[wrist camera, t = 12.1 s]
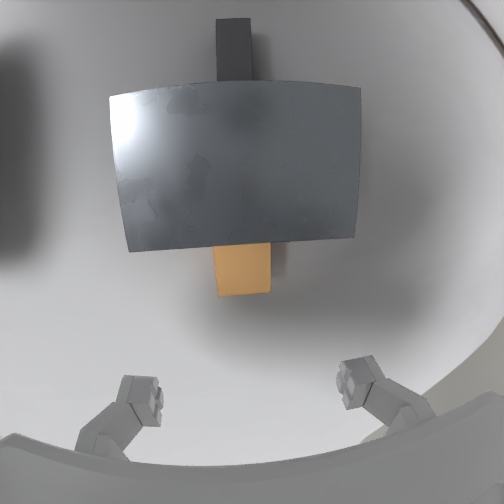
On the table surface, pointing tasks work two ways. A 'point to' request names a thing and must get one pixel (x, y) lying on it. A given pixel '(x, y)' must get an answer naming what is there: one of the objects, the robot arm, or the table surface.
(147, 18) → the table surface
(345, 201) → the slotted block
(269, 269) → the plug
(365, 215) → the table surface
